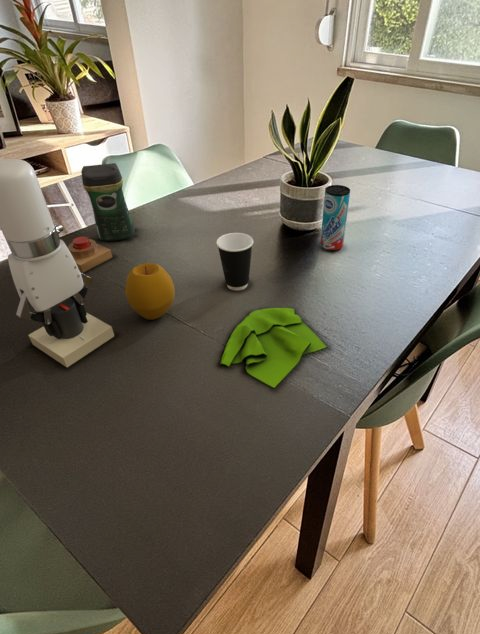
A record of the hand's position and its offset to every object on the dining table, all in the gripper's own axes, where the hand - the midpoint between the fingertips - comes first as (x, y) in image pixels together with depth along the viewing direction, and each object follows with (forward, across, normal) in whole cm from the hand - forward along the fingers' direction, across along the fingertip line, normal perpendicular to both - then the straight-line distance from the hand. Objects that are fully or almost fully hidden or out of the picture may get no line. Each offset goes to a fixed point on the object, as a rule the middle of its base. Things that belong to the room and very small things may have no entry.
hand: (68, 327), depth 82 cm
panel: (+3, 0, 0) cm, 3 cm away
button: (0, -21, -24) cm, 32 cm away
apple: (+4, -15, +7) cm, 17 cm away
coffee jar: (+4, -34, -28) cm, 44 cm away
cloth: (+4, -21, +32) cm, 38 cm away
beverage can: (+4, -62, +23) cm, 66 cm away
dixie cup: (+4, -34, +14) cm, 37 cm away
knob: (+1, 0, 0) cm, 1 cm away
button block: (+3, -21, -24) cm, 32 cm away
